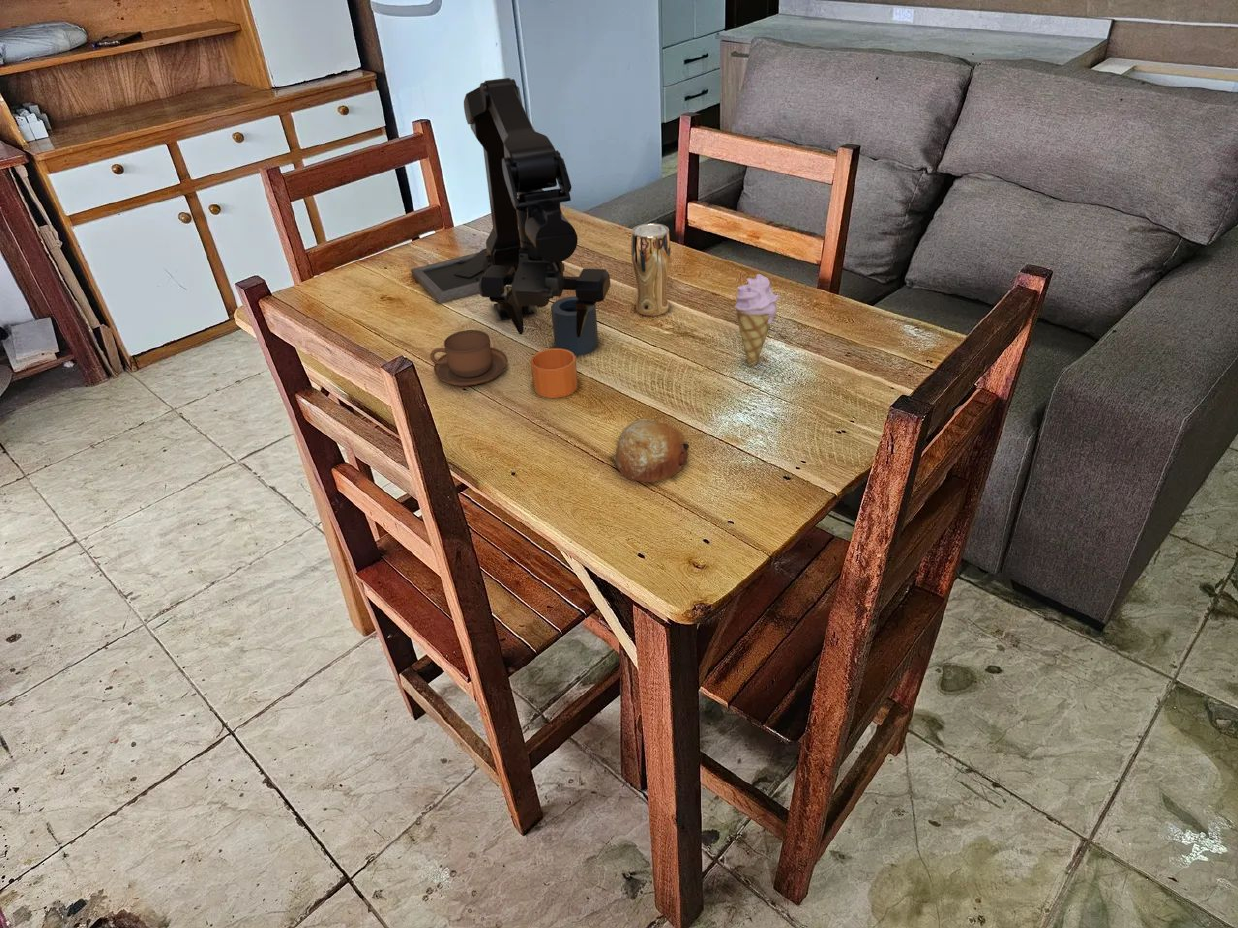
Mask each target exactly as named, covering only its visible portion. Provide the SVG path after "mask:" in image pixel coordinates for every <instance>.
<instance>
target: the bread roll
mask: <svg viewBox="0 0 1238 928" xmlns="http://www.w3.org/2000/svg"><path fill="white" fill-rule="evenodd" d="M689 448H690V445H689V443H688V441H687V438H686V437H685V435H684V434H683V431H682V430H679V429H677V428H675V427H673V426H671V425H669V424H667V423H664V422H663V423H662V422H658V421H655V420H651V419H648V418H644V417H643V418H638V419H636V420H633V421H632V422H630V424H628V425H627V426H626V427H625V428H624V429H623V430H622V431H621V433H620V434H619V435H618V436H617V441H616V449H615V454H614V457H613V460H614V462H615V465H616V468H617V469H618V471H619V472H620V474H621V475H623V476H624V477H625V478H627V479H628V480H631V481H635V482H641V483H656V482H659V481H663V480H666V479H667V480H668V479H669V478H672V477H674V476H675V475H677V474H678V473H679V472H680V471H682V469H683V468H684V467H685V465H686V463H687V459H688V450H689Z"/></svg>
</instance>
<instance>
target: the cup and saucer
mask: <svg viewBox="0 0 1238 928" xmlns="http://www.w3.org/2000/svg"><path fill="white" fill-rule="evenodd" d="M443 346H444V347H437V348H434V349H432V351H431V352H430V355H429V357H430V361H431V362H432V363H433V364H434V365H433V372H434V374H435V375H436V377H437V378H438V379H439V380H441V381H443V382H444V383H446V384H450V385H454V386H461V387H467V386H470V387H471V386H476V385H481V384H485V383H487V382H490V381H492V380H494V379H496V378H497V377H498V376H500V375H501V374H502V373H503V372H504V371H505V369H506V368H507V366H508V357H507V355H506V353H504V351H502V350H500V349H498V348H495V347H492V346H491V339H490V336H489V334H488V333H487V332H485V331H482V330H478V329H467V330H461V331H457V332H455V333H452V334H449V335H448V336H447V337H446V338H444V340H443ZM437 353H444V354H443V355H442V356H440V357H439V358H438V359H436V357H435V356H436V354H437Z"/></svg>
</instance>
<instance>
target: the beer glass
mask: <svg viewBox="0 0 1238 928" xmlns="http://www.w3.org/2000/svg"><path fill="white" fill-rule="evenodd" d="M670 239H671V238H670V229H669V227H668V226H666V225H665V224H662V223H643V224H638V225H636V226H634V227H633V228H632V229H631V241H630V242H631V243H630V254H631V265H632V270H633V274H634V275H633V276H634V280H635V283H636V290H637V297H636V304H635V310H636V312H637V313H638V314H640V315H643V316H646V317H647V316H648V317H655V316H660V315H664V314H665V313H666V312H668V311H669V308H670V306H669V302H668V295H667V284H668V278H669V274H670V273H669V272H670V265H671V240H670Z"/></svg>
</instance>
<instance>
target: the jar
mask: <svg viewBox="0 0 1238 928" xmlns="http://www.w3.org/2000/svg"><path fill="white" fill-rule="evenodd" d="M576 300H577V297H576V295H573V296H572V295H571V296H566V297H562V298H559V299H557V300H555V301H554V302H553V303H552V304H551V306H550V310H551V319H552V329H553V338H554V348H561V349H566V350H569V351H571V352H573V353H574V355H575V357H577V356H583V355H587V354H590V353H592V352H593V351H595V350H596V349H597V348H598V346H599V334H598V321H597V319H598V318H597V307H596V306H597V304H595V305H594V306H590V307H589V310H588V313H587V316H586V320H585V323H584V327H583V331H582V334H581V336H580V338H578V337H577V331H576V314H577V309H576V306H575V302H576Z"/></svg>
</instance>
